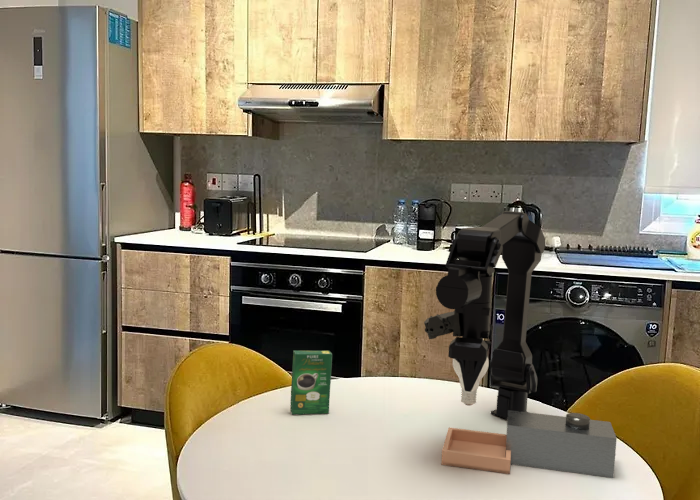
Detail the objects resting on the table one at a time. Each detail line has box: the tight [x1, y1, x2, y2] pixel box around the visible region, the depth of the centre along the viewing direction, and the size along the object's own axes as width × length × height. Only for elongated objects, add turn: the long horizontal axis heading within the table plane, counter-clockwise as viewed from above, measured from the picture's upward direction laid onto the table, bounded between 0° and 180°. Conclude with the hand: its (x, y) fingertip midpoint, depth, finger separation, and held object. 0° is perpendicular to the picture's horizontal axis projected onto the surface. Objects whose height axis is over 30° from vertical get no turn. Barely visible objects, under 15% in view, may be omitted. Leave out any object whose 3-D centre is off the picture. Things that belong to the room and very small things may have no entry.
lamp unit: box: [505, 410, 618, 479], centre depth 120 cm, size 18×8×9 cm, turn 76°
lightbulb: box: [452, 355, 490, 406], centre depth 120 cm, size 6×6×11 cm
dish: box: [440, 426, 511, 475], centre depth 121 cm, size 12×12×2 cm
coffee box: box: [289, 350, 333, 416], centre depth 139 cm, size 8×3×13 cm, turn 103°
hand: (469, 385), depth 120 cm, fingers closed on lightbulb, 6 cm apart
